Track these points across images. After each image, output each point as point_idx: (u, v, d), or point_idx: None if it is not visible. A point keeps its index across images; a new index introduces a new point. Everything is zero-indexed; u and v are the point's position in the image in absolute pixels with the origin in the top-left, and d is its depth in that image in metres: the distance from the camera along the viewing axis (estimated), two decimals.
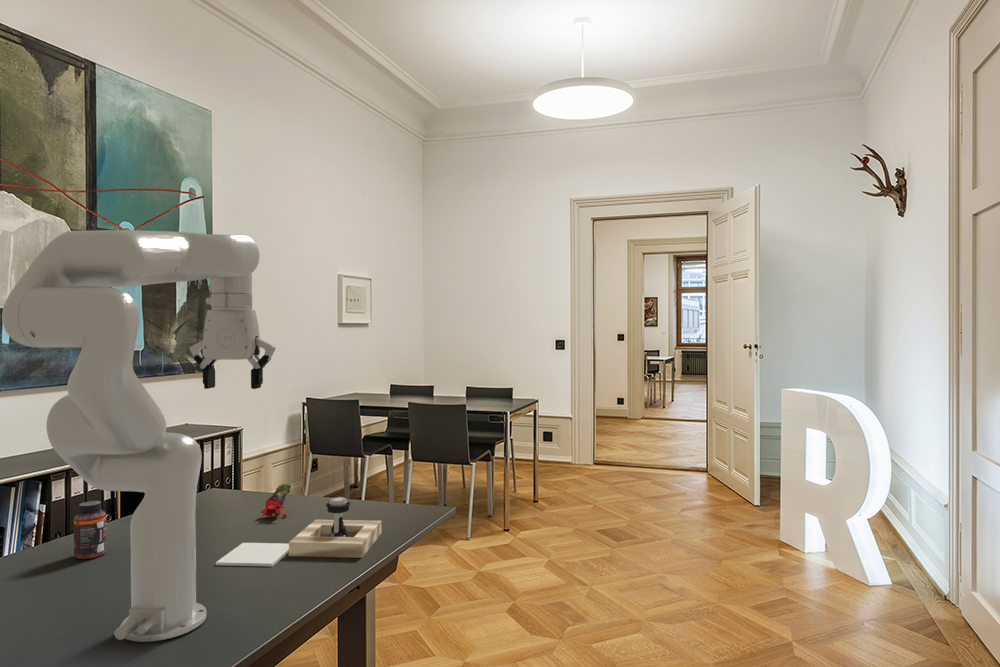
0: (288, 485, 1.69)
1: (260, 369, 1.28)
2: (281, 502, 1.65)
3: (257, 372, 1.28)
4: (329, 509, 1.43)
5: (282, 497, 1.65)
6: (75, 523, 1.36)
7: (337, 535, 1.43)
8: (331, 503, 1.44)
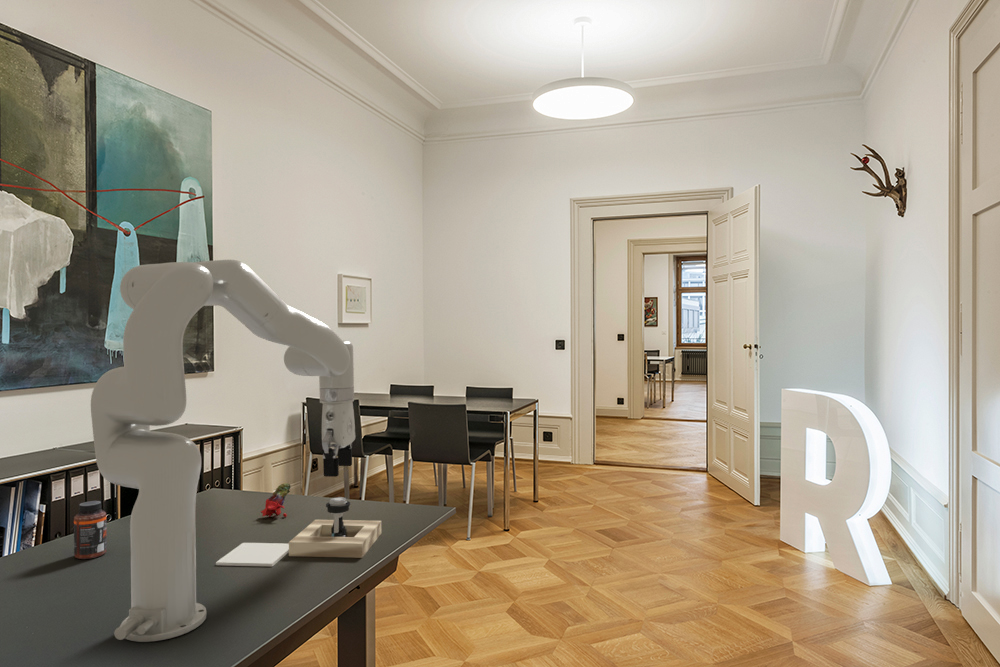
0: (288, 485, 1.69)
1: None
2: (281, 502, 1.65)
3: None
4: (329, 509, 1.43)
5: (282, 497, 1.65)
6: (75, 523, 1.36)
7: (337, 535, 1.43)
8: (331, 503, 1.44)
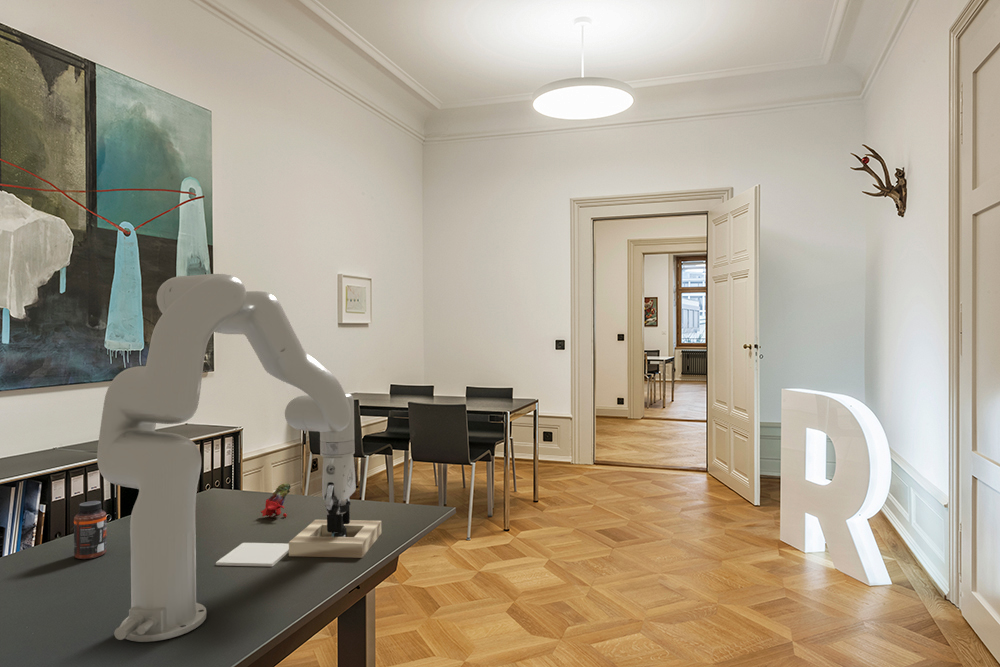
0: (288, 485, 1.69)
1: None
2: (281, 502, 1.65)
3: None
4: None
5: (282, 497, 1.65)
6: (75, 523, 1.36)
7: (337, 535, 1.43)
8: None
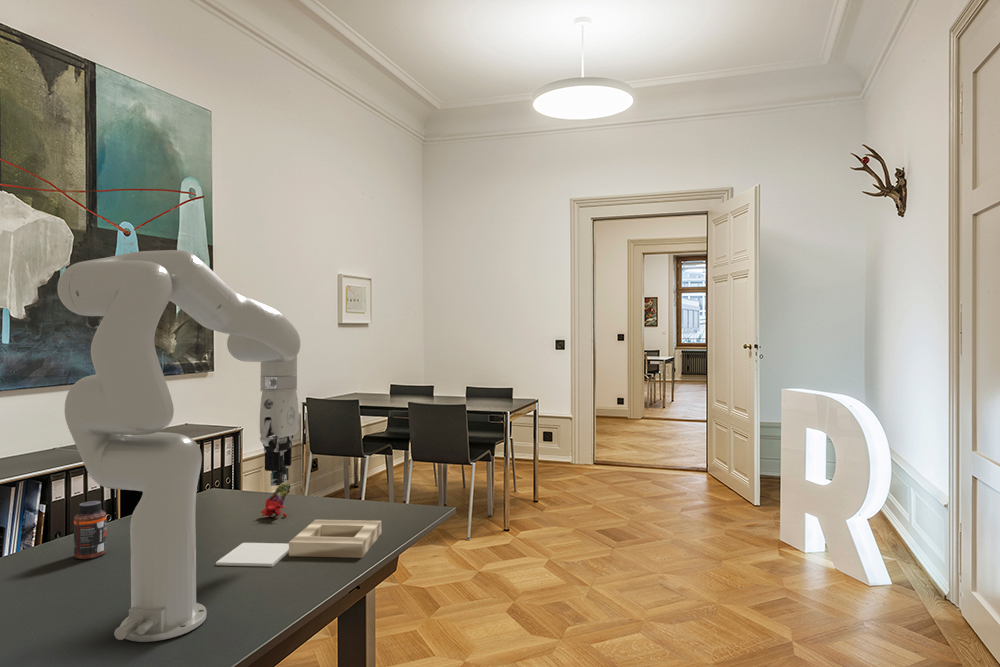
0: (288, 485, 1.69)
1: None
2: (281, 502, 1.65)
3: None
4: None
5: (282, 497, 1.65)
6: (75, 523, 1.36)
7: (276, 474, 1.37)
8: None
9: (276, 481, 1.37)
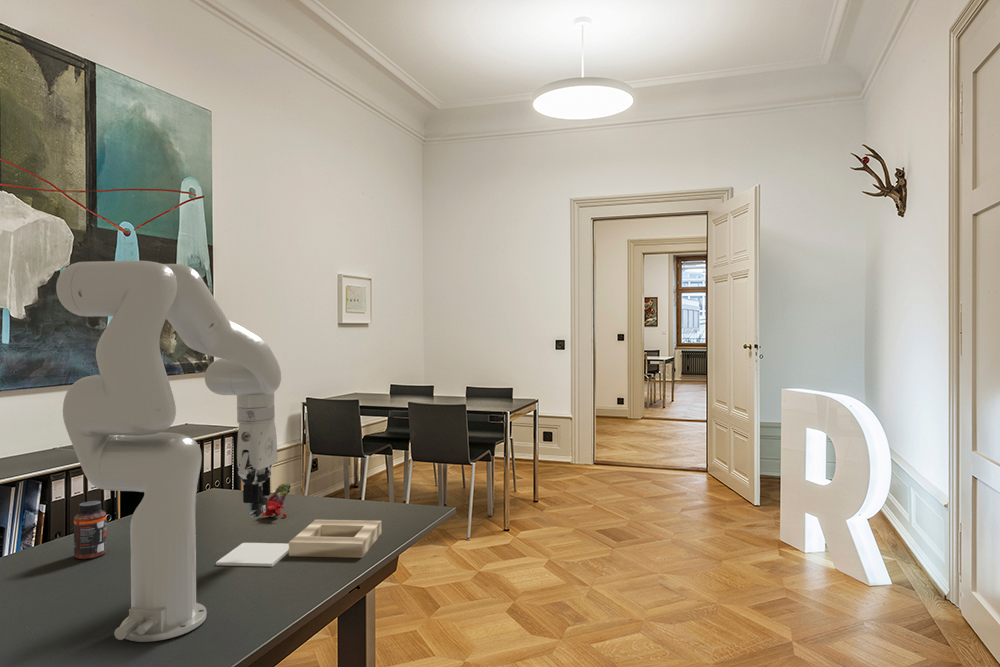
0: (288, 485, 1.69)
1: None
2: (281, 502, 1.65)
3: None
4: None
5: (282, 497, 1.65)
6: (75, 523, 1.36)
7: (255, 505, 1.36)
8: (248, 472, 1.36)
9: (255, 512, 1.36)
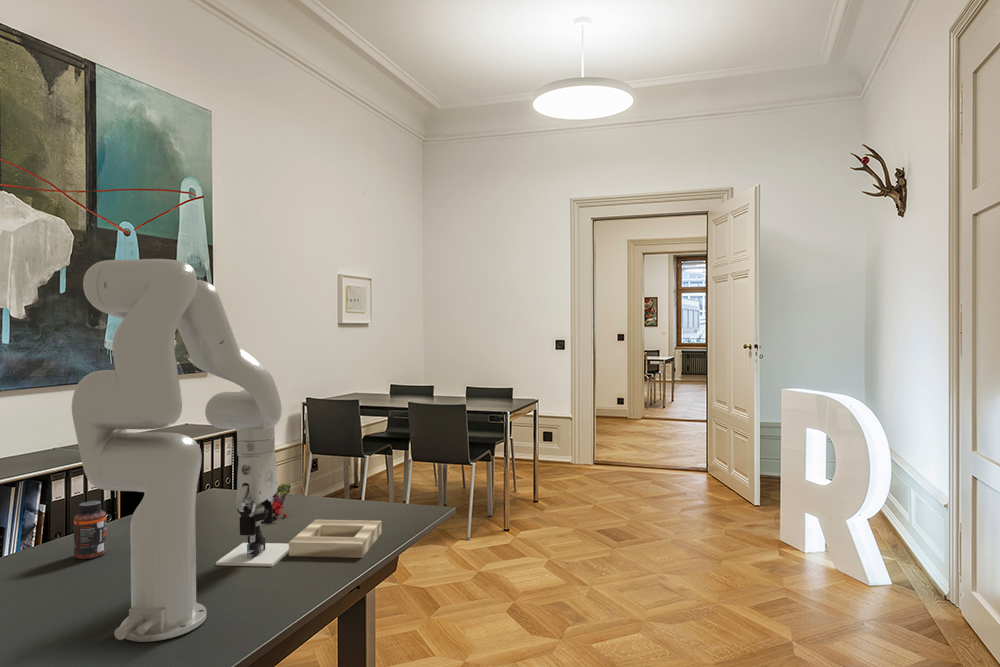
0: (288, 485, 1.69)
1: None
2: (281, 502, 1.65)
3: None
4: None
5: (282, 497, 1.65)
6: (75, 523, 1.36)
7: (253, 545, 1.35)
8: None
9: (253, 552, 1.35)
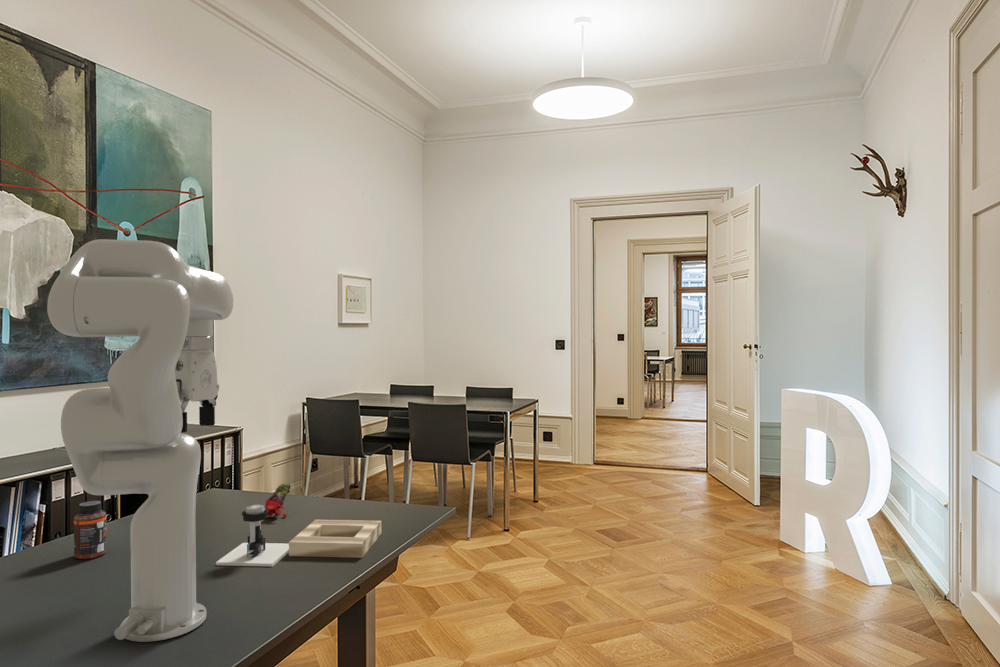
0: (288, 485, 1.69)
1: None
2: (281, 502, 1.65)
3: None
4: (244, 517, 1.35)
5: (282, 497, 1.65)
6: (75, 523, 1.36)
7: (253, 545, 1.35)
8: (247, 511, 1.36)
9: (253, 552, 1.35)
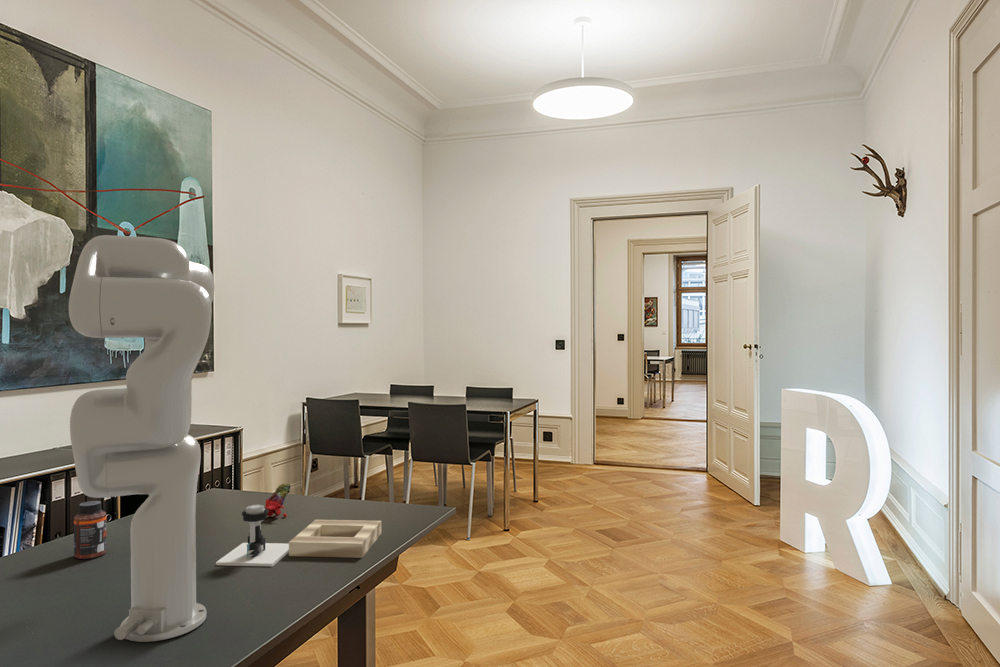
0: (288, 485, 1.69)
1: None
2: (281, 502, 1.65)
3: None
4: (244, 517, 1.35)
5: (282, 497, 1.65)
6: (75, 523, 1.36)
7: (253, 545, 1.35)
8: (247, 511, 1.36)
9: (253, 552, 1.35)
